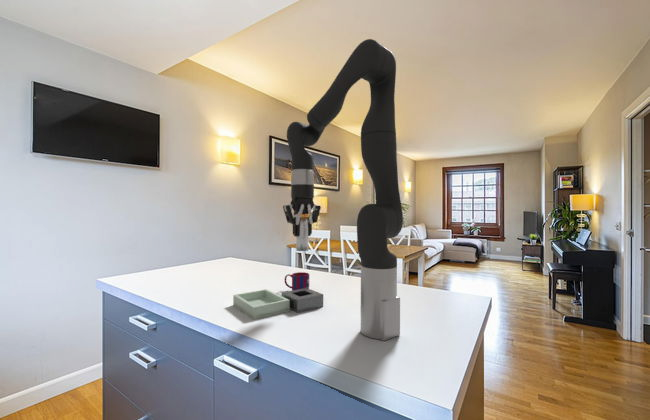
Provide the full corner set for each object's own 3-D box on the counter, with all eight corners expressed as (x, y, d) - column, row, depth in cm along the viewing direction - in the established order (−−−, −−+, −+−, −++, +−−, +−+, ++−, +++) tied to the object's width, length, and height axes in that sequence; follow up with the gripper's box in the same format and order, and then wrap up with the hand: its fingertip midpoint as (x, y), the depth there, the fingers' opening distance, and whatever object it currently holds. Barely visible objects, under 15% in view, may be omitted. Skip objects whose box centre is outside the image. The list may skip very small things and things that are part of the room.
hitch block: (323, 306, 98) (323, 294, 98) (297, 312, 92) (297, 299, 92) (306, 299, 106) (306, 287, 106) (281, 304, 100) (281, 292, 100)
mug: (304, 294, 111) (304, 276, 111) (281, 291, 116) (281, 274, 116) (312, 290, 118) (312, 273, 118) (290, 287, 122) (290, 270, 122)
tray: (289, 310, 94) (289, 300, 94) (253, 319, 86) (253, 307, 86) (266, 298, 106) (266, 289, 106) (233, 305, 99) (233, 294, 99)
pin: (312, 250, 98) (312, 214, 98) (300, 251, 95) (300, 214, 95) (304, 248, 102) (304, 213, 102) (291, 250, 99) (291, 213, 99)
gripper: (289, 182, 92) (289, 238, 92) (326, 184, 100) (326, 235, 100) (277, 183, 98) (277, 236, 98) (313, 186, 106) (313, 234, 106)
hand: (302, 235), depth 99 cm, fingers closed on pin, 4 cm apart
